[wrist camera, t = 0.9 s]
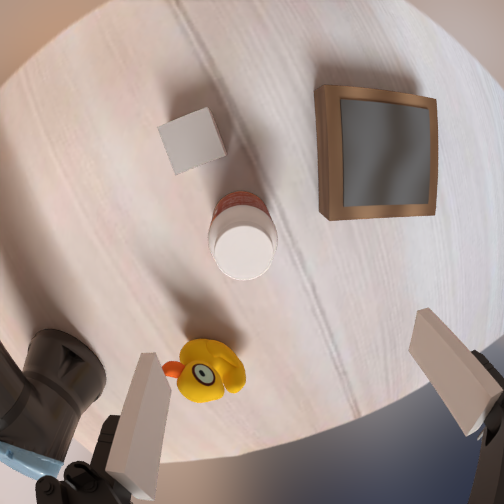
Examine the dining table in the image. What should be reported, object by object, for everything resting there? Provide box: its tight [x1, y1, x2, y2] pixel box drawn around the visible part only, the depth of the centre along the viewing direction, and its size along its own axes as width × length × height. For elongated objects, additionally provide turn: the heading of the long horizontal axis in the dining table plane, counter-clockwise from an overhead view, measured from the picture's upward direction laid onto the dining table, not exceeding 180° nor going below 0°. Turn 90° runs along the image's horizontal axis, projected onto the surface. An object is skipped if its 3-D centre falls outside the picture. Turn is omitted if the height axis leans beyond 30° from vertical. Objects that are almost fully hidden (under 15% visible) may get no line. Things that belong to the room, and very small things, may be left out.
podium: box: [314, 85, 438, 221], centre depth 29 cm, size 14×14×4 cm
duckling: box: [162, 339, 246, 403], centre depth 35 cm, size 11×5×10 cm, turn 57°
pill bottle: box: [208, 191, 278, 280], centre depth 28 cm, size 6×6×11 cm
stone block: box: [157, 107, 227, 175], centre depth 27 cm, size 5×5×5 cm
